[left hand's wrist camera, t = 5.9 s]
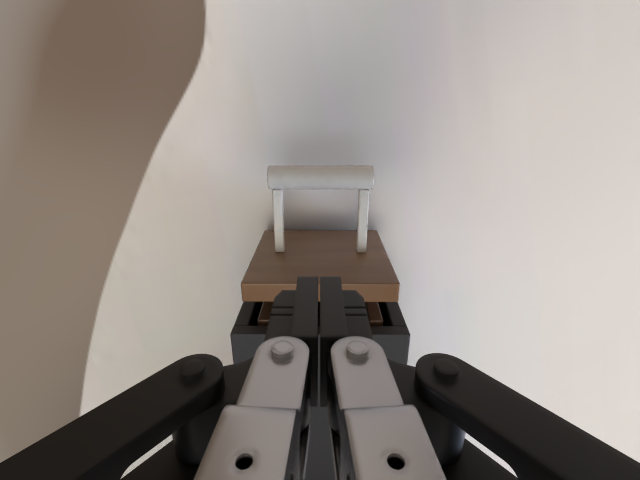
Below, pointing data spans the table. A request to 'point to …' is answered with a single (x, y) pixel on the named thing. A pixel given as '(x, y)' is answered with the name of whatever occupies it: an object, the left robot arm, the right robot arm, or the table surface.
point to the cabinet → (252, 336)
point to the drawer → (320, 245)
